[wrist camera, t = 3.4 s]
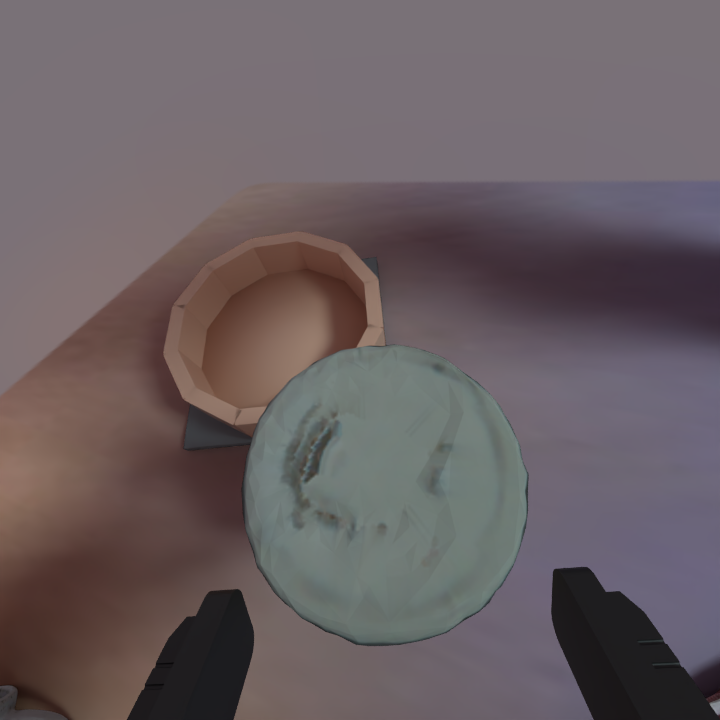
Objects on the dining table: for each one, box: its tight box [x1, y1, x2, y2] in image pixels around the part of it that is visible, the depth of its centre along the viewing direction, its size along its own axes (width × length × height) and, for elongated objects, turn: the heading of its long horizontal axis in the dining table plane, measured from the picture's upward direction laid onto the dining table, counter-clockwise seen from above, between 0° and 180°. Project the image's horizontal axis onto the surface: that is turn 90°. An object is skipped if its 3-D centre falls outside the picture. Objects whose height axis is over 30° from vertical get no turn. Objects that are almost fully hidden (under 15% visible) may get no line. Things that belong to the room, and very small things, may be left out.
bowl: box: [163, 231, 386, 437], centre depth 27 cm, size 15×15×4 cm
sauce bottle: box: [242, 345, 529, 646], centre depth 14 cm, size 6×6×20 cm
